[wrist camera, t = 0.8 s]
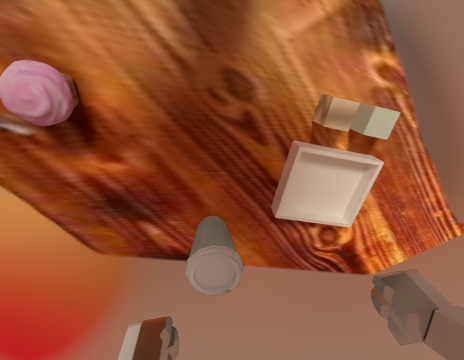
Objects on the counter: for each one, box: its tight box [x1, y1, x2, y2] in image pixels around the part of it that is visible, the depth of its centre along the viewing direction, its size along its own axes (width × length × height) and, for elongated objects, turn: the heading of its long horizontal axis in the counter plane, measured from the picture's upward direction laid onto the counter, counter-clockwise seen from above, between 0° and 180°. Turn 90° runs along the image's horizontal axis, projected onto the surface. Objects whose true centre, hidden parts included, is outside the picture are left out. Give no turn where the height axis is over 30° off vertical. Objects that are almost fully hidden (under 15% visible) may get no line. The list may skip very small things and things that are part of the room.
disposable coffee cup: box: [185, 216, 244, 296], centre depth 48 cm, size 11×11×15 cm
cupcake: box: [0, 60, 79, 126], centre depth 36 cm, size 9×9×10 cm
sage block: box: [350, 103, 401, 140], centre depth 45 cm, size 5×5×5 cm
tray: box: [271, 140, 384, 228], centre depth 50 cm, size 16×18×4 cm
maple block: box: [312, 94, 360, 131], centre depth 43 cm, size 5×5×5 cm
